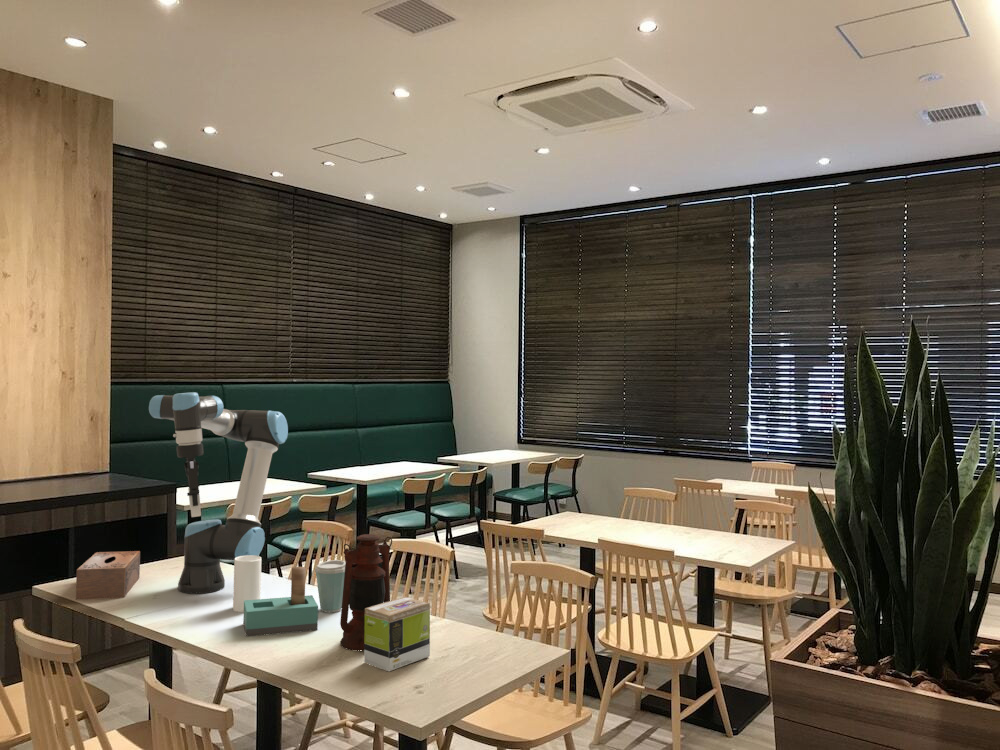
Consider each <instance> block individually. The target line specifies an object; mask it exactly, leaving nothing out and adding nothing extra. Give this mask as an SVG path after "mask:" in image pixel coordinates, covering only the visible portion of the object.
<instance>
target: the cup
mask: <svg viewBox="0 0 1000 750" xmlns="http://www.w3.org/2000/svg"><path fill="white" fill-rule="evenodd" d="M233 564H234V568H233V569H234V570H233V597H232V600H233V601H232V603H233V604H232V610H233V611H234V612H236V611H238V612H237V613H244V600H257V599H261V593H262V592H261V589H262V587H261V585H262V557H261V556H259V555H258V556H254V555H247V556H239V557H236V558H235V560H233Z"/></svg>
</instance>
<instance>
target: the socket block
mask: <svg viewBox="0 0 1000 750" xmlns="http://www.w3.org/2000/svg"><path fill="white" fill-rule="evenodd" d="M318 618H319V605H318V603H317V601H316V600H315V598H314V596H313V595H312V594H311V595H305V604H300V605H291V596H285V597H273V598H271V597H270V598H260V599H257V600H244V612H243V619H242V622H243V623H242V624H244V625H243V628H244V633H246V634H245V637H246V636H247V637H255V636H256V635H258V636H264V634H265V636H266V634H269V635H276V634H277V633H280V634H289V633H299V632H300V631H301V632H309V630H312V631H318V627H319V626H318V625H319V622H318V621H319V620H318ZM277 635H278V634H277Z"/></svg>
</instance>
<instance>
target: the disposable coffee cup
mask: <svg viewBox="0 0 1000 750" xmlns="http://www.w3.org/2000/svg"><path fill="white" fill-rule="evenodd" d="M345 564H346V562H345V560H340V559H332V560H327V561H322V562H320V563H318V564H317V565H316V566H315V568H314V569H315V570H314V572H315V577H316V585H317V590H318V592H317V593H318V599H319V606H320V609H321V612H323V611H324V612H323V613H337V612H340V611H341V609H342V598H343V587H344V575H345Z"/></svg>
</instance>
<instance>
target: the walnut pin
mask: <svg viewBox="0 0 1000 750" xmlns="http://www.w3.org/2000/svg"><path fill="white" fill-rule="evenodd" d="M306 570H307V569H306V567H304V566H294V567H292V568H291V583H290V584H291V585H290V587H291V588H290V589H291V591H290V597H291V605H300V604H305V596H306V573H307V572H306Z"/></svg>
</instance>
